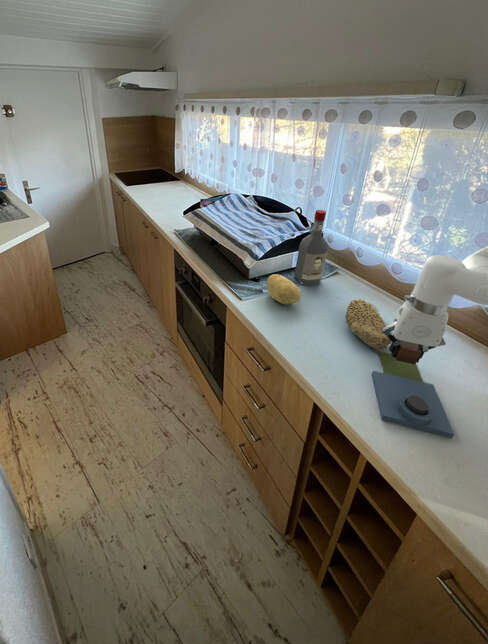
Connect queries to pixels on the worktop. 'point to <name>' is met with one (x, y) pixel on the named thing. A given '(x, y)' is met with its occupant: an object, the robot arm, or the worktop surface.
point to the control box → (394, 409)
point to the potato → (283, 289)
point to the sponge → (367, 324)
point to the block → (408, 352)
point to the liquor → (312, 253)
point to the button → (417, 405)
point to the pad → (399, 367)
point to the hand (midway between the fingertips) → (403, 355)
